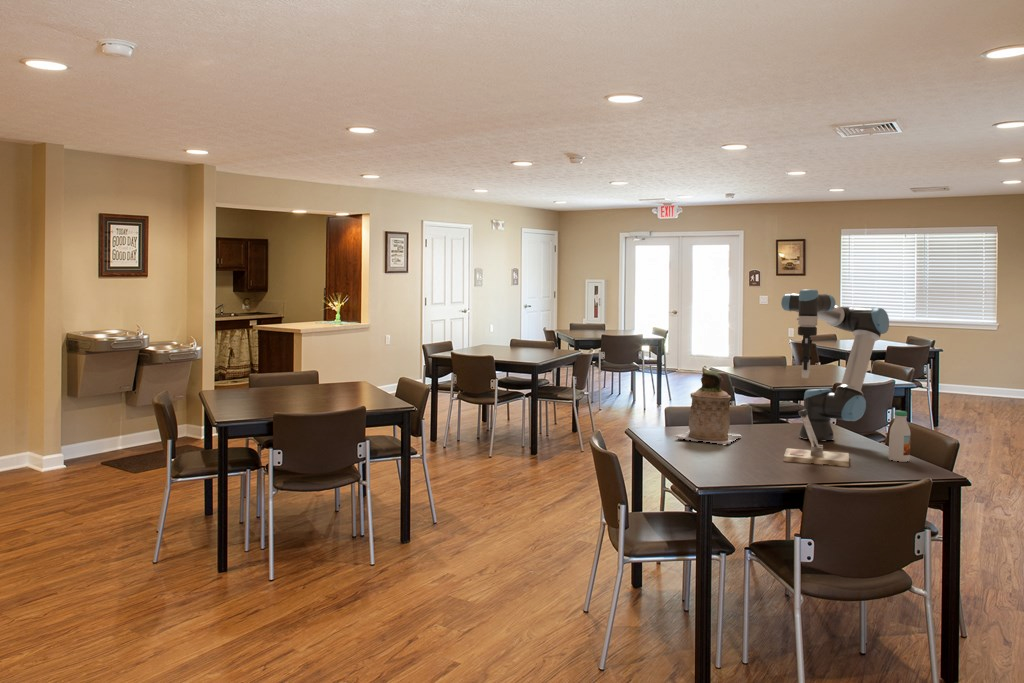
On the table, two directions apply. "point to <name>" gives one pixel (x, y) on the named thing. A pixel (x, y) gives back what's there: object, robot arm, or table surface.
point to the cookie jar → (709, 412)
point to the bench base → (816, 456)
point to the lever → (808, 428)
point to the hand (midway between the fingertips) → (805, 376)
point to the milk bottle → (899, 438)
